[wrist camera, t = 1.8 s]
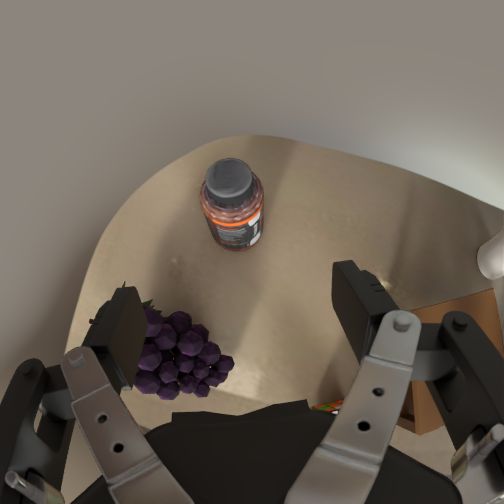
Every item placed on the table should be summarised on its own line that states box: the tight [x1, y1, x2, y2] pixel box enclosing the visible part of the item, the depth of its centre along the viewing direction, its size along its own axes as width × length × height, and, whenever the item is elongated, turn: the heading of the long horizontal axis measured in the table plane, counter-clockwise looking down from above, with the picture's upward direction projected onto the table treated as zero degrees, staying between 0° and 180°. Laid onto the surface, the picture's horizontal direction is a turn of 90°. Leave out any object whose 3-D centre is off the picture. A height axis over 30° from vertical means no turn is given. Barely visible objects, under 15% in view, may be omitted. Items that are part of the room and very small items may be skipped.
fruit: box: [89, 282, 234, 400], centre depth 28 cm, size 10×11×15 cm
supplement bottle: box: [200, 158, 264, 251], centre depth 31 cm, size 6×6×11 cm
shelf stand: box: [396, 288, 504, 435], centre depth 27 cm, size 12×12×8 cm
